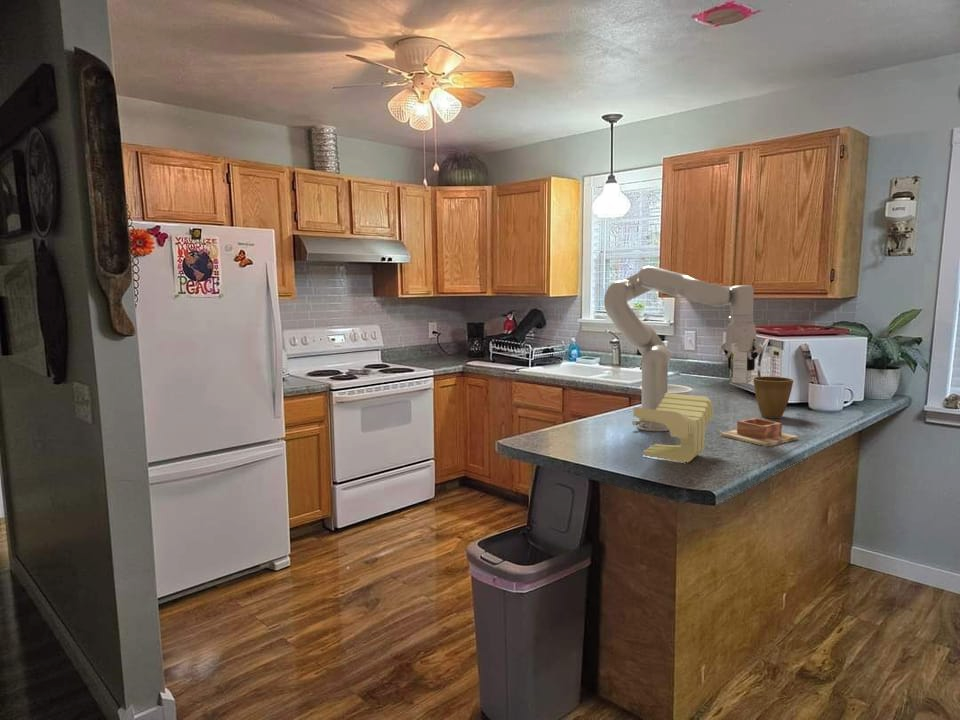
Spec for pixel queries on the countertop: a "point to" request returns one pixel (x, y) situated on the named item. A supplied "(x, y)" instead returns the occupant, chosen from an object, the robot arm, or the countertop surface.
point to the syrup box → (739, 366)
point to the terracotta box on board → (759, 432)
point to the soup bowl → (677, 389)
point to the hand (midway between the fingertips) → (741, 368)
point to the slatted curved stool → (679, 425)
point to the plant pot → (772, 395)
